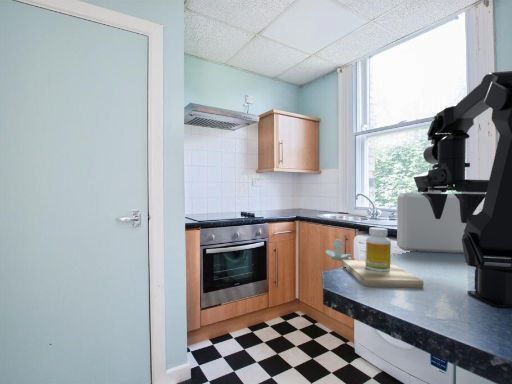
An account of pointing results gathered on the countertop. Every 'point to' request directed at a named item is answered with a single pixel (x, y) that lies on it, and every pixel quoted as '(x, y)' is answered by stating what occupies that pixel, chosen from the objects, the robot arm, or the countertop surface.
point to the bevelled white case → (429, 225)
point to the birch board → (382, 275)
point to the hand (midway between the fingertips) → (450, 220)
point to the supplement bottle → (378, 250)
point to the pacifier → (338, 251)
